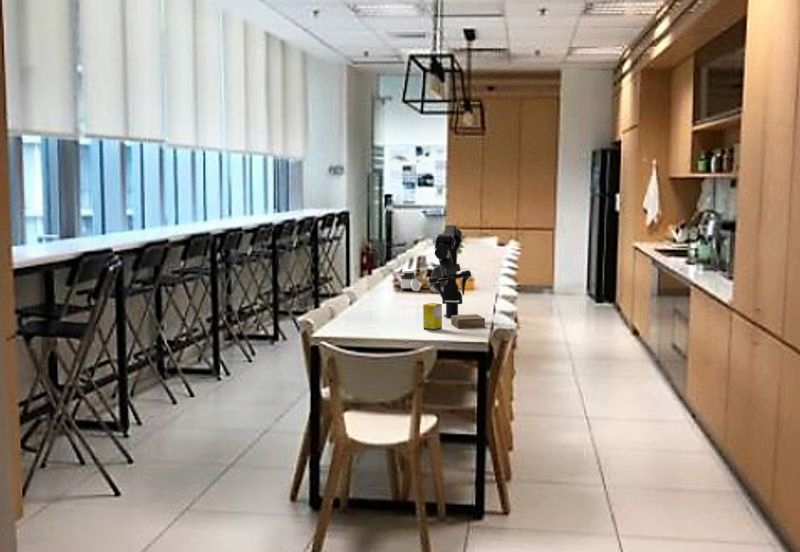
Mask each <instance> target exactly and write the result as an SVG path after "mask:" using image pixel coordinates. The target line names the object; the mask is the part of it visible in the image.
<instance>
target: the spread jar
mask: <svg viewBox="0 0 800 552" xmlns="http://www.w3.org/2000/svg"><path fill="white" fill-rule="evenodd" d="M401 272H402V273H401V276H400V289H401V291H404V292H412V291H414V292H418V291H420V290H421V284H420V280H419V279H416V275H415V270H414V269H410V268H408V269H406V268H405V269H401Z"/></svg>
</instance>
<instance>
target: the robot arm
mask: <svg viewBox="0 0 800 552" xmlns="http://www.w3.org/2000/svg"><path fill="white" fill-rule="evenodd" d="M462 243H463V233H462V231H461V230H460V229H459V228H458V227H457V225H453V224H452V225H449V224H447V225H445V228H444V231H443V233H439V234H438V235H437V236H436V239H435V245H434V249H435V250H434V256H435V257H436V258H437V260H438V262H439V265H440V268H441V272H442V277H440V278H438V277H437V276H434V277H431V276H430V277H429V278H428V279H427V285H428V287H430V285H432V287H434V288H435V289H436V290H437V291H438V293H437V294H439V295H440V297H441V300H442V305H444V304H445V314H443V316H444V317H446V318H451V315H459V305H462V304H463V296H464V295H465V289H466V284H467V281H468V280H469V279H470V278H471V277H472V272H471V271H470V270H468V269H467V270H462V271H461V267H460V265H461V264H460V263H458V252H459V250H460V249H461V247H462ZM458 272H460V273H458ZM446 278H447V279H446ZM457 279H461V280H460V287H461V291H460V287H459V284H458V281H457ZM446 280H447V283H446V284H445V285H444V291H442V290H441V287H440V282H441V281H446ZM438 282H439V283H438Z"/></svg>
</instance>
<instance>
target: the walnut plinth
mask: <svg viewBox="0 0 800 552" xmlns="http://www.w3.org/2000/svg"><path fill="white" fill-rule="evenodd" d="M450 324H451V325H452V326H453V327H455V328H457V329H458V330H459V329H460V330H461V329H484V328H486V318H485V317H483V316H481V315H480V314H478V313H473V314H458V315H451V317H450Z"/></svg>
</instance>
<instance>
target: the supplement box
mask: <svg viewBox="0 0 800 552" xmlns="http://www.w3.org/2000/svg"><path fill="white" fill-rule="evenodd" d="M422 306H423V307H422V310H423V311H422V312H423V314H422V315H423V324H422V325H423V330H425V329H426V331H439V330H441V329H443V310H442V308H443V303H435V302H431V303H424V304H423V305H422Z"/></svg>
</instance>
